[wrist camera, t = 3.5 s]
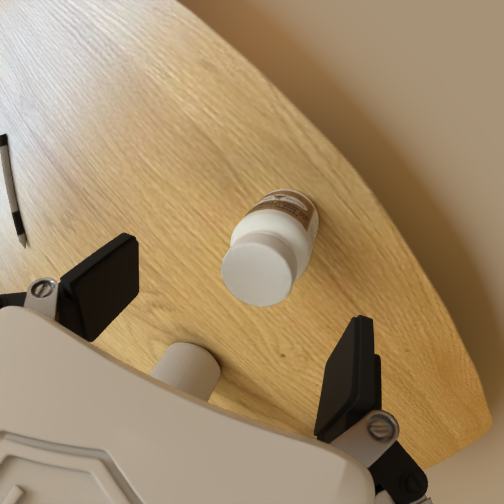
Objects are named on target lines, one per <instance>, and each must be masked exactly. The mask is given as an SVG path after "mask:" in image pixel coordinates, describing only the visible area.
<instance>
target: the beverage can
mask: <svg viewBox="0 0 504 504" xmlns="http://www.w3.org/2000/svg"><path fill="white" fill-rule="evenodd" d="M220 375H221V372H220V368H219V365H218V364H217V362H216V360H215V359H214V357H213V356H212V355H211V354H210V353H209V352H208V351H207V350H205V349H204V348H202V347H200V346H198V345H195V344H191V343H182V342H179V343H174V344H172V345H170V346H169V347H168V348H167V350H166V351H165V353H164V354H163V355H162V357H161V358H160V360H159V361H158V362H157V364H156V365H155V367H154V368H153V369H152V371H151V372H150V374H149V376H151V377H153V378H155V379H157V380H159V381H161V382H163V383H166V384H168V385H170V386H172V387H174V388H176V389H178V390H181V391H183V392H185V393H187V394H190V395H192V396H194V397H197V398H199V399H201V400H204V401H206V402H208V400H209V398H210V396H211V394H212V392H213V390H214V388H215V386H216V384H217V382H218V380H219V378H220Z"/></svg>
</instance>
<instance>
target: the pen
mask: <svg viewBox="0 0 504 504" xmlns="http://www.w3.org/2000/svg"><path fill="white" fill-rule="evenodd" d="M0 153H1V160H2V167H3V173H4V178H5V184H6V189H7V194H8V198H9V203H10V207H11V211H12V216H13V220H14V224H15V228H16V231H17V235H18V238H19V242H21V244H22V245H23V247H24V248H25V249H26V237H25V232H24V229H23V225H22V221H21V218H20V213H19V210H18V206H17V201H16V196H15V191H14V186H13V180H12V174H11V168H10V161H9V154H8V145H7V139H6V134H3V135H0Z"/></svg>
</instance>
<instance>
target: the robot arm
mask: <svg viewBox="0 0 504 504" xmlns="http://www.w3.org/2000/svg"><path fill="white" fill-rule="evenodd" d="M60 280H61V282H60V283H57V281H55V280H54V279H52V278H46V277H45V278H40V279H37V280H35V281H34V282H32V283H31V284H30V286H29V288H28V290H27V292H21V293H11V294H1V295H0V504H433V503H432V501H431V498H430V497H429V498H427V497H426V495H425V493H426V491H427V488H428V481H427V477H426V475H425V474H424V472H423V471H422V469H421V468H420V467H419V466H418V465H417V464H416V462H415V461H414V460H413V459H412V458H411V456H410V455H409V454H408V453H407V452H406V451H405V449H404V448H403V447H402V446H401V445H400V444H399V442H398V441H397V440H396V439H397V438H398V436H399V425H398V422H397V420H396V419H395V418H394V416H393V415H391V414H390V413H389V412H386V411H384V410H381V409H382V391H381V359H380V356H379V355H377V354H374V330H373V319H371V318H368V317H365V316H362V315H359V316H358V317H357V318H356V317H353V318H352V319H351V321H350V323H349V324H348V326H347V328H346V330H345V332H344V333H343V335H342V337H341V338H340V340H339V342H338V344H337V345H336V347H335V349H334V350H333V352H332V354H331V355H330V357H329V359H328V360H327V363H326V366H325V372H324V378H323V384H322V391H321V397H320V402H319V408H318V413H317V419H316V424H315V429H314V436H317V439H314V438H310V437H307V436H304V435H301V434H298V433H295V432H291V431H288V430H285V429H282V428H278V427H275V426H272V425H269V424H266V423H263V422H260V421H257V420H254V419H251V418H249V417H246V416H243V415H240V414H237V413H235V412H232V411H229V410H226V409H224V408H221V407H219V406H216V405H214V404H211V403H209V402H206V401H204V400H201V399H199V398H197V397H194V396H192V395H190V394H187V393H185V392H183V391H181V390H178V389H176V388H174V387H172V386H170V385H168V384H166V383H163V382H161V381H159V380H157V379H155V378H153V377H151V376H149V375H147V374H145V373H143V372H141V371H139V370H137V369H135V368H134V367H132V366H130V365H128V364H126V363H124V362H122V361H121V360H119V359H117V358H115V357H113V356H112V355H110V354H108V353H106V352H105V351H103V350H101V349H100V348H98V347H96V346H94V345H93V344H91V343H90V342H93V341H94V340H95V339H96V338H97V337H98V336H99V335H100V334H101V333H102V332H103V331H104V330H105V328H106V327H107V326H108V325H109V324H110V323H111V322H112V321H113V320H114V319H115V318H116V317H117V316H118V315H119V314H120V313H121V312H122V311H123V310H124V309H125V308H126V307H127V305H128V304H129V303H130V302H131V301H132V300H133V299H134V298H135V297H136V296H137V295H138V293H139V244H138V241H136V237H135V236H132V235H130V234H127V233H122V234H120V235H119V236H117V237H116V238H114V239H113V240H111V241H110V242H108V243H107V244H106V245H104V246H103V247H101V248H100V249H98V250H97V251H96V252H94V253H93V254H92V255H90V256H89V257H87V258H86V259H85V260H83V261H82V262H81V263H79V264H78V265H76V266H75V267H74V268H72V269H71V270H70V271H68V272H67V273H66V274H65V275H63V276H62V277H61V278H60Z"/></svg>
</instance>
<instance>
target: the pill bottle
mask: <svg viewBox="0 0 504 504" xmlns="http://www.w3.org/2000/svg"><path fill="white" fill-rule="evenodd" d="M318 226H319V218H318V213H317V210H316V208H315V206H314V204H313V203H312V201H311V200H310V199H309V198H308V197H307V196H305V195H304V194H302V193H301V192H298V191H296V190H292V189H278V190H274V191H271V192H270V193H268V194H266V195H265V196H264V197H263V198H262V199H261V200H260V201H259V202H258V203H257V204H256V205H255V206H254V207H253V208H252V209H251V210H250V211H249V212H248V213H247V214H246V215H245V217H244V218H243V219H242V220H241V221H240V222H239V224H238V225H237V226H236V228H235V229H234V231H233V234H232V237H231V243H230V249H229V250H228V252H227V253H226V255H225V256H224V258H223V261H222V265H221V274H222V279H223V282H224V284H225V286H226V287H227V289H228V290H229V291H230V292H231V293H232V294H233V296H235V297H236V298H237V299H239V300H240V301H242V302H244V303H246V304H249V305H252V306H257V307H268V306H272V305H275V304H277V303H279V302H281V301H283V300H284V299H285V298H286V297H287V296H288V294H289V293H290V291H291V289H292V286H293V284H294V281H296V280H297V279H298V278H299V277H301V275H302V274H303V273H304V272H305V270H306V268H307V266H308V264H309V261H310V258H311V254H312V250H313V246H314V242H315V238H316V234H317V230H318Z"/></svg>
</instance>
